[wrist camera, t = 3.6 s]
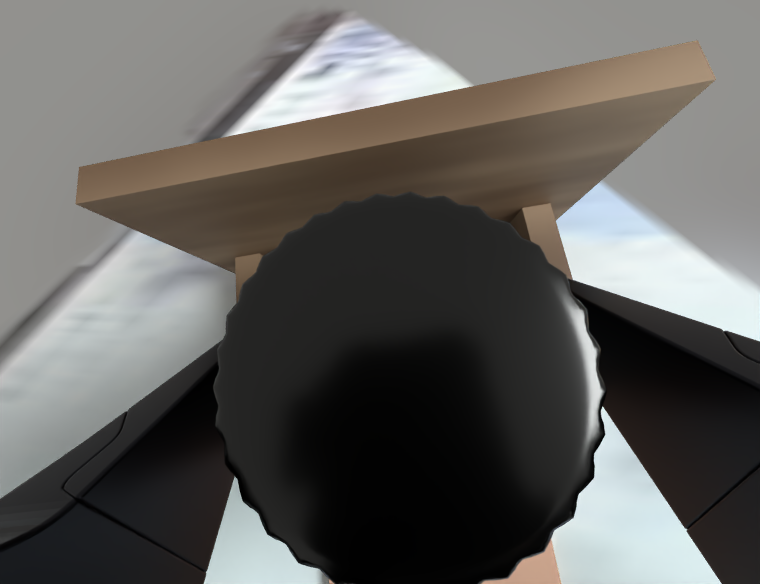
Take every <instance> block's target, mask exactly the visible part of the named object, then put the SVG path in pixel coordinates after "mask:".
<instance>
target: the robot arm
mask: <svg viewBox="0 0 760 584" xmlns="http://www.w3.org/2000/svg"><path fill="white" fill-rule="evenodd" d="M568 281H569V283H570V289H571V292H572V294H573V295H574V296H575V298H576V299H578V300H579V301H580V302H581V303H582V304H583V305H584V306H585V307H586V309H587V313H588V322H589V331H590V333H591V335H592V336H593V337H594V338H595V339H596V341H597V343H598V344H599V346H600V348H601V354H600V363H599V369H598V370H599V372H600V374H601V376H602V378H603V380H604V383H605V386H606V389H607V394H606V397H605V401H604V404H603V407H604V409H605V410H606V412H607V413H608V415H609V416H610V418H611V419H612V421H613V422H614V424H615V425H616V427H617V428H618V430H619V431H620V433H621V434H622V435H623V437H624V438H625V440H626V441H627V443H628V444H629V446H630V447H631V449H632V450H633V452H634V453H635V455H636V456H637V458H638V459H639V461H640V462H641V464H642V465H643V467H644V468H645V470H646V471H647V473H648V474H649V476H650V477H651V479H652V480H653V482H654V483H655V485H656V486H657V488H658V489H659V491H660V492H661V494H662V495H663V497H664V498H665V499H666V501H667V502H668V504H669V505H670V507H671V508H672V510H673V511H674V513H675V514H676V516H677V517H678V519H679V520H680V522H681V523H682V525H683V526H684V528H686V529H687V533H688V534H689V536H690V537H691V539H692V540H693V542H694V543H695V545H696V546H697V548H698V549H699V551H700V552H701V554H702V555H703V557H704V558H705V560H706V561H707V562H708V564H709V565H710V567H711V568H712V570H713V571H714V573H715V574H716V576H717V577H718V579H719V580H720V582H721V583H722V584H760V341H756V340H753V339H750V338H747V337H744V336H741V335H738V334H735V333H732V332H729V331H723V330H722V329H720V328H717V327H714V326H711V325H708V324H705V323H702V322H699V321H696V320H692V319H689V318H686V317H683V316H680V315H677V314H674V313H671V312H668V311H665V310H662V309H659V308H656V307H653V306H650V305H647V304H644V303H641V302H638V301H635V300H632V299H629V298H626V297H623V296H620V295H617V294H614V293H611V292H608V291H605V290H602V289H599V288H596V287H593V286H590V285H586V284H583V283H580V282H577V281H574V280H571V279H568ZM220 343H221V341H220V342H219V343H218V344H216V345H215V346H214V347H212V348H211V349H209V350H208V351H207V352H205V353H204V354H203V355H201V356H200V357H199V358H197V359H196V360H195V361H193V362H192V363H191V364H189V365H188V366H186V367H185V368H184V369H182V370H181V371H180V372H178V373H177V374H176V375H174V376H173V377H172V378H170V379H169V380H168V381H166V382H165V383H163V384H162V385H161V386H159V387H158V388H157V389H155V390H154V391H153V392H151V393H150V394H149V395H147V396H146V397H145V398H143V399H142V400H140V401H139V402H138V403H136V404H135V405H134V406H132V407H131V408H130V409H129V410H128V411H126V412H124V413H123V414H121V415H120V416H119V417H117V418H116V419H115V420H113V421H112V422H111V423H109V424H108V425H106V426H105V427H104V428H102V429H101V430H100V431H98V432H97V433H95V434H94V435H93V436H91V437H90V438H88V439H87V440H86V441H84V442H83V443H81V444H80V445H78V446H77V447H76V448H74V449H73V450H71V451H70V452H68V453H67V454H65V455H64V456H63V457H61V458H60V459H58V460H57V461H55V462H54V463H52V464H51V465H49V466H48V467H46V468H45V469H44V470H42V471H41V472H39V473H38V474H36V475H35V476H33V477H32V478H30V479H29V480H27V481H26V482H24V483H23V484H21V485H20V486H18V487H17V488H16V489H14V490H13V491H11V492H10V493H8V494H7V495H5V496H4V497H2V498H1V499H0V584H204V580H205V577H206V571H207V569H208V566H209V562H210V559H211V555H212V552H213V549H214V545H215V542H216V538H217V535H218V531H219V528H220V524H221V521H222V518H223V514H224V511H225V507H226V504H227V500H228V497H229V493H230V490H231V487H232V483H233V480H234V476H235V475H234V474H233V473H231V472H230V470H229V469H228V468H227V466H226V465H225V460H224V442H223V440H222V439H221V437H220V435H219V433H218V431H217V429H216V427H215V421H216V415H217V411H218V404H217V401H216V398H215V394H214V390H213V385H214V381H215V378H216V376H217V374H218V371H219V365H218V359H217V349H218V347H219V345H220Z"/></svg>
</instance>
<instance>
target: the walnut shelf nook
mask: <svg viewBox="0 0 760 584" xmlns="http://www.w3.org/2000/svg"><path fill="white" fill-rule="evenodd" d="M715 80H716V78H715V76H714V74H713V72H712V69H711V67H710V66H709V64H708V61H707V59H706V57H705V55H704V53H703V51H702V48H701V46H700V44H699V42H698V41H692V42H687V43H682V44H678V45H673V46H668V47H663V48H658V49H653V50H649V51H643V52H639V53H634V54H629V55H624V56H619V57H614V58H610V59H605V60H599V61H595V62H590V63H585V64H580V65H576V66H570V67H565V68H561V69H556V70H551V71H546V72H541V73H536V74H532V75H527V76H521V77H517V78H512V79H507V80H502V81H497V82H493V83H487V84H482V85H478V86H473V87H468V88H463V89H458V90H453V91H448V92H443V93H438V94H434V95H429V96H424V97H419V98H414V99H409V100H404V101H399V102H394V103H390V104H385V105H380V106H375V107H370V108H365V109H360V110H355V111H351V112H346V113H341V114H336V115H331V116H326V117H321V118H316V119H311V120H307V121H302V122H297V123H292V124H287V125H282V126H277V127H272V128H268V129H263V130H258V131H253V132H248V133H243V134H238V135H233V136H228V137H224V138H219V139H214V140H209V141H204V142H199V143H194V144H189V145H185V146H180V147H175V148H170V149H165V150H160V151H156V152H151V153H145V154H141V155H136V156H131V157H126V158H121V159H116V160H111V161H106V162H102V163H97V164H92V165H87V166H83V167H79V174H78V185H77V195H76V204H77V205H79V206H81V207H83V208H86V209H88V210H90V211H93V212H95V213H97V214H100V215H102V216H104V217H106V218H109V219H111V220H113V221H116V222H118V223H120V224H123V225H125V226H127V227H129V228H132V229H134V230H136V231H139V232H141V233H143V234H146V235H148V236H150V237H152V238H155V239H157V240H159V241H162V242H164V243H166V244H169V245H171V246H173V247H175V248H178V249H180V250H182V251H185V252H187V253H189V254H192V255H194V256H196V257H198V258H201V259H203V260H205V261H208V262H210V263H212V264H215V265H217V266H219V267H222V268H224V269H226V270H228V271H231V272H233V273H235V274H236V299H237V302H238V300H239V294H240V290H241V287H242V284H243V283H244V282H245V281H246V280H247V279H248V278H250V277H251V276H252V275H253V274H254V273H255V272H256V270H257V267H258V264H259V262H260V260H261V258H262V256H264V255H265V254H267V253H268V252H270V251H272V250H274V249H275V248H277V247H278V245H279V243H280V242H281V240H282V239H283V237H284V236H285V235H286V233H288V232H290V231H293V230H296V229H299V228H301V227H303V226H304V225H305V224H306V222H307V221H308V220H309V219H310V218H311V217H312V216H313V215H315V214H319V213H326V212H331V211H332V210H333V209H334V208H336V207H337V206H338V205H340V204H341V203H343V202H344V201H363V200H364V199H366V198H368V197H370V196H372V195H374V194H385V195H390V196H396V195H399V194H402V193H406V192H410V191H411V192H414V193H417V194H419V195H421V196H424V197H433V196H446V197H448V198H450V199H452V200H453V201H454V202H456V203H457V204H459V205H473V206H479V207H480V208H481V209H482V210H484V211H485V212H486V214H487V215H488V216H490V217H491V218H494V219H499V220H503V221H506V222H509V223H511V224H512V226H513V227H514V228H515V229H516V230H517V232H518V233H519V234H520V236H521V237H522V238H524V239H527V240H529V241H532V242H534V243H536V244H537V245H539V246H540V247H541V248H542V250H543V252H544V253H545V256H546V258H547V260H548V262H549V263H550V264H552V265H554V266H555V267H557V268H558V269H560V270H561V271H562V272H563V273H565V274H566V275H567V278H568V279H571V280H573V279H572V276H571V272H570V269H569V265H568V262H567V258H566V255H565V252H564V248H563V245H562V241H561V238H560V234H559V231H558V227H557V224H556V220H557V219H558V218H559V217H560V216H561V215H563V214H564V213H565V212H566V211H567V210H568V209H569V208H570V207H572V206H573V205H574V204H575V203H576V202H577V201H578V200H580V199H581V198H582V197H583V196H584V195H585V194H586V193H588V192H589V191H590V190H591V189H592V188H593V187H594V186H595V185H597V184H598V183H599V182H600V181H601V180H602V179H603V178H605V177H606V176H607V175H608V174H609V173H610V172H611V171H613V169H615V168H616V167H617V166H618V165H619V164H620V163H621V162H623V161H624V160H625V159H626V158H627V157H628V156H630V155H631V154H632V153H633V152H634V151H635V150H636V149H637V148H638V147H640V146H641V145H642V144H643V143H644V142H645V141H647V140H648V139H649V138H650V137H651V136H652V135H653V134H654V133H656V132H657V131H658V130H659V129H660V128H661V127H662V126H664V125H665V124H666V123H667V122H668V121H669V120H670V119H671V118H673V117H674V116H675V115H676V114H677V113H678V112H680V111H681V110H682V109H683V108H684V107H685V106H686V105H688V104H689V103H690V102H691V101H692V100H693V99H694V98H695V97H696V96H698V95H699V94H700V93H701V92H702V91H703V90H704V89H706V88H707V87H708V86H709V85H710V84H711V83H713V82H714V81H715Z"/></svg>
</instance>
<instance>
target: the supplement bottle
mask: <svg viewBox="0 0 760 584" xmlns="http://www.w3.org/2000/svg"><path fill="white" fill-rule="evenodd" d="M600 354H601V348H600V346H599V344H598V343H597V341H596V339H595V338H594V337H593V336H592V335H591V333H590V331H589V322H588V313H587V309H586V307H585V306H584V305H583V304H582V303H581V302H580V301H579V300H578V299H576V298H575V296H574V295H573V294H572V292H571V289H570V283H569V281H568V278H567V275H566V274H565V273H563V272H562V271H561V270H560V269H558V268H557V267H555V266H554V265H552V264H550V263H549V262H548V260H547V258H546V256H545V253H544V252H543V250H542V248H541V247H540V246H539V245H537V244H536V243H534V242H532V241H529V240H527V239H524V238H522V237H521V236H520V234H519V233H518V232H517V230H516V229H515V228H514V227H513V226H512V224H511V223H509V222H506V221H503V220H499V219H494V218H491V217H490V216H488V215H487V214H486V212H485V211H484V210H482V209H481V208H480V207H479V206H473V205H459V204H457V203H456V202H454V201H453V200H452V199H450V198H448V197H446V196H433V197H424V196H421V195H419V194H417V193H414V192H411V191H410V192H406V193H402V194H399V195H396V196H390V195H385V194H374V195H372V196H370V197H368V198H366V199H364V200H363V201H344V202H343V203H341V204H340V205H338V206H337V207H336V208H334V209H333V210H332V211H331V212H326V213H319V214H315V215H313V216H312V217H311V218H310V219H309V220H308V221H307V222H306V224H305V225H304V226H303V227H301V228H299V229H296V230H293V231H290V232H288V233H286V235H285V236H284V237H283V239H282V240H281V242H280V243H279V245H278V247H277V248H275V249H274V250H272V251H270V252H268V253H267V254H265V255H264V256H262V258H261V260H260V262H259V264H258V267H257V270H256V272H255V273H254V274H253V275H252V276H251V277H250V278H248V279H247V280H246V281H245V282H244V283H243V284H242V287H241V290H240V294H239V300H238V302H237V303H236V305H235V306H234V307H233V308H232V309H231V311H230V312H229V313H228V315H227V319H226V334H225V336H224V338H223V340H222V341H221V343H220V345H219V347H218V349H217V359H218V365H219V371H218V374H217V376H216V378H215V381H214V385H213V390H214V394H215V398H216V401H217V404H218V411H217V415H216V421H215V427H216V429H217V431H218V433H219V435H220V437H221V439H222V440H223V442H224V460H225V465H226V466H227V468H228V469H229V470H230V472H231V473H233V474H234V475H235V477H236V478H237V479H238V484H239V489H240V493H241V497H242V501H243V502H244V503H245V504H247V505H248V506H249V507H250V508H252V509H254V510H255V511H256V512H257V513H258V514H259V516H260V519H261V522H262V524H263V526H264V529H265V531H266V533H267V535H269V536H271V537H273V538H274V539H276V540H280V541H281V542H283V543H285V544H286V545H287V547H288V548H289V550H290V552H291V553H292V555H293V556H294V557H295V559H296V560H297V562H298V563H299V564H302V565H306V566H309V567H313V568H318V569H320V570H321V571H322V572H323V573H324V574H325V575H326V576H327V577H328V578H329V579H330V580H331V581H332V582H333V583H334V584H481V583H482V582H484V581H493V580H502V579H508V578H509V577H510V576H511V574H512V573H513V572H514V571H515V570H516V567H517V566H518V564H519V563H520V562H521V561H522V560H523V559H526V558H530V557H533V556H536V555H538V554H541V553H543V552H545V550H546V548H547V546H548V544H549V542H550V540H551V537H552V535H553V532H554V530H555V529H557V528H559V527H561V526H562V525H564V524H565V523H567V522H568V521H570V520H571V519H572V518H574V514H575V510H576V506H577V498H578V494H579V493H580V492H581V491H582V490H583V489H584V488H585V487H586V486H587V485H588V484H589V483H590V482H591V481H592V479H593V478H594V468H595V465H594V453H595V451H596V450H597V448H598V447H599V445H600V444H601V442H602V440H603V438H604V436H605V430H604V423H603V421H602V418H601V412H600V411H601V409H602V406H603V404H604V401H605V397H606V394H607V389H606V386H605V383H604V380H603V378H602V376H601V374H600V372H599V370H598V369H599V363H600Z"/></svg>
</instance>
